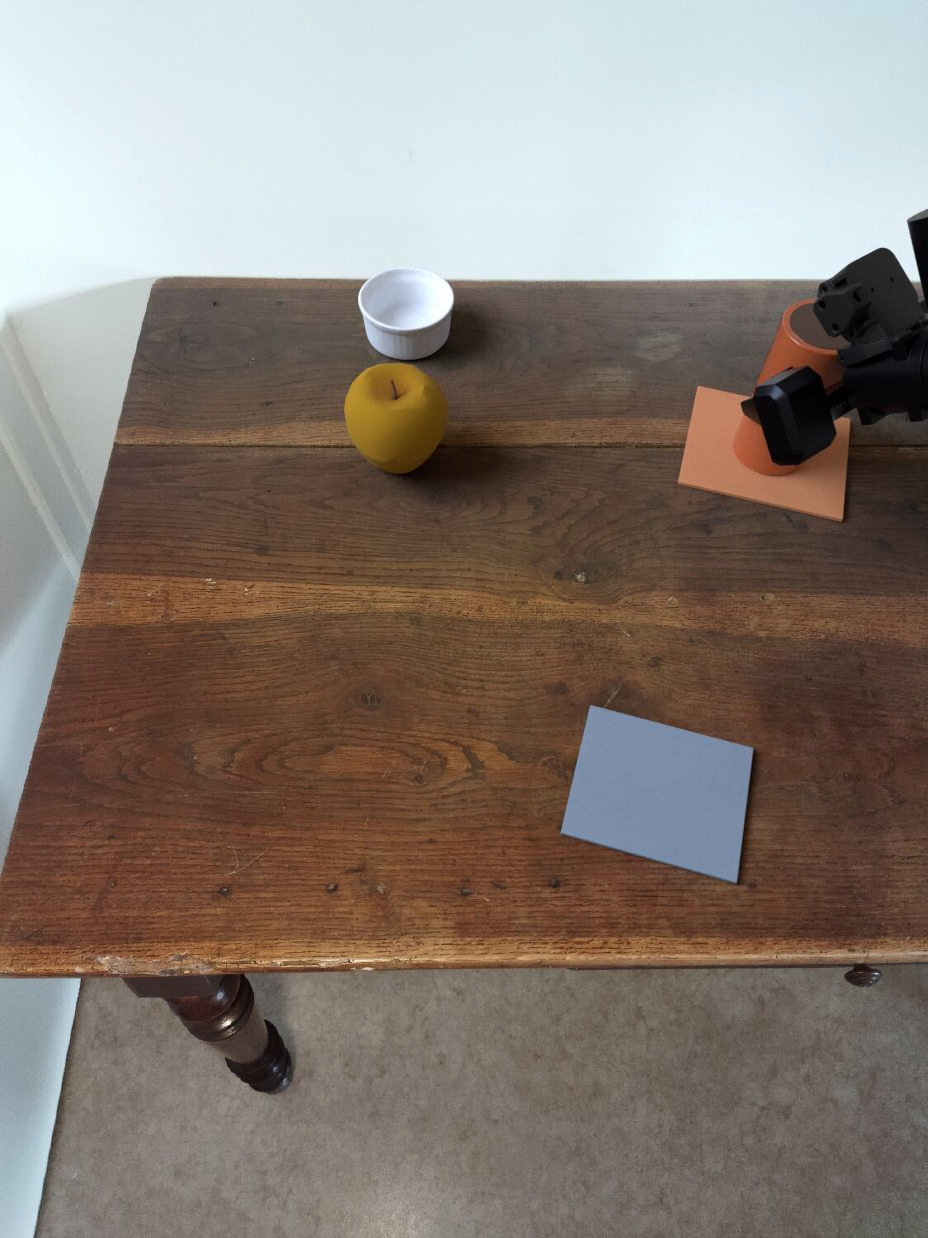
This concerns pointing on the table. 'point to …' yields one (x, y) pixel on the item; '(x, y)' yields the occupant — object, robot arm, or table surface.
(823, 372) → the terracotta pot
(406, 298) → the ramekin
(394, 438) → the apple
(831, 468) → the terracotta mat
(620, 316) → the table surface
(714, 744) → the slate mat
